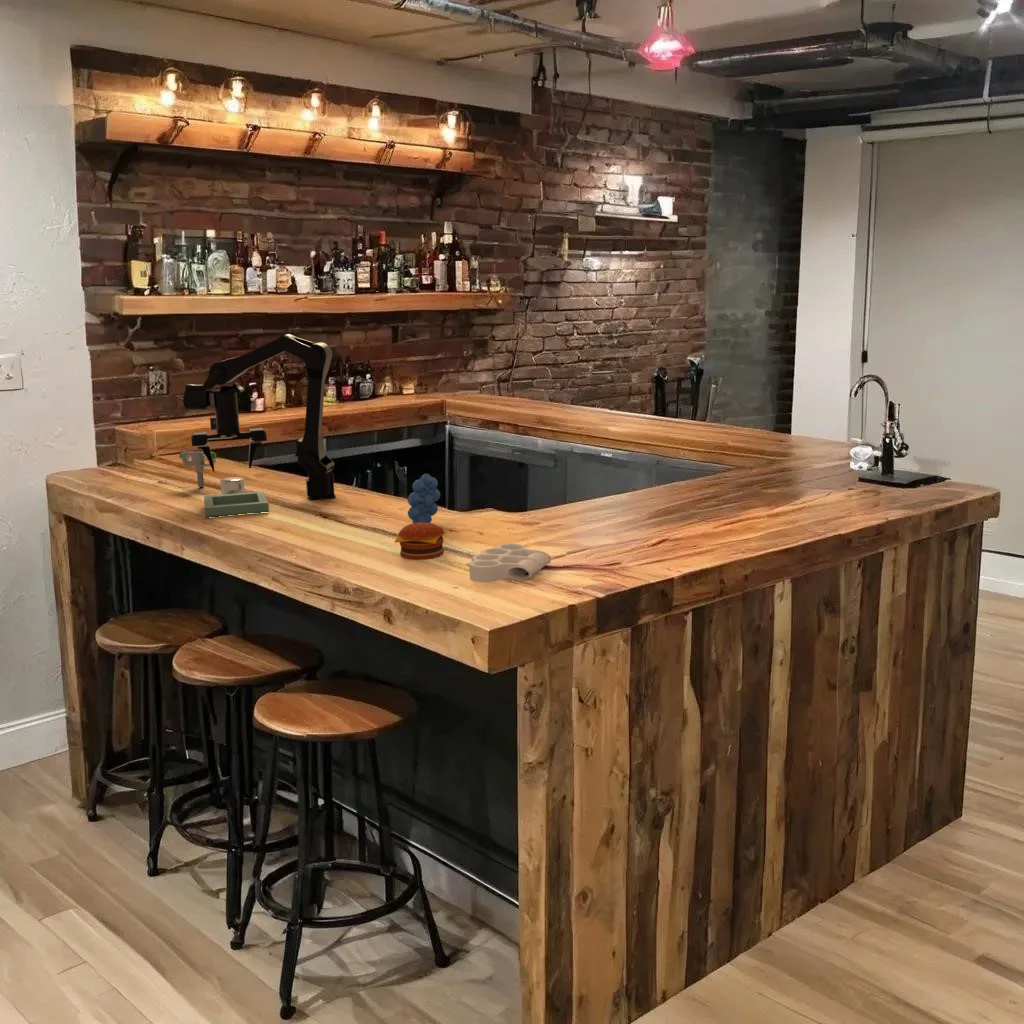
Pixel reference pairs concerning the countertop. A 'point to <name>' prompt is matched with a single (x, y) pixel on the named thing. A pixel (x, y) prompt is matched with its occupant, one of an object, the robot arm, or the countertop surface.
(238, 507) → the socket frame
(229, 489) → the silver rounded cylinder
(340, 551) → the countertop surface
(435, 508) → the grapes
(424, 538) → the hamburger
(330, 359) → the robot arm
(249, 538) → the countertop surface
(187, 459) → the mechanical component
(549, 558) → the multi-hole tube bracket
